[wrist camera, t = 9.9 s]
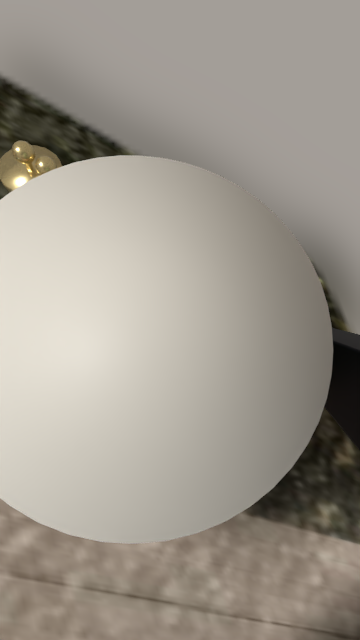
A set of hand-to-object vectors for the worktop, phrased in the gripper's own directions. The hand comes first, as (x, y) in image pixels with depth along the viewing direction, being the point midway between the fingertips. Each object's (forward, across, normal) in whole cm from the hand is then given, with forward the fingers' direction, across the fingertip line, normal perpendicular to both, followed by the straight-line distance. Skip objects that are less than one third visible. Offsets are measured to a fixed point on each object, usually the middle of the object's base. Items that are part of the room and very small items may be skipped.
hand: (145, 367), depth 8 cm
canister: (+6, 0, +6) cm, 8 cm away
